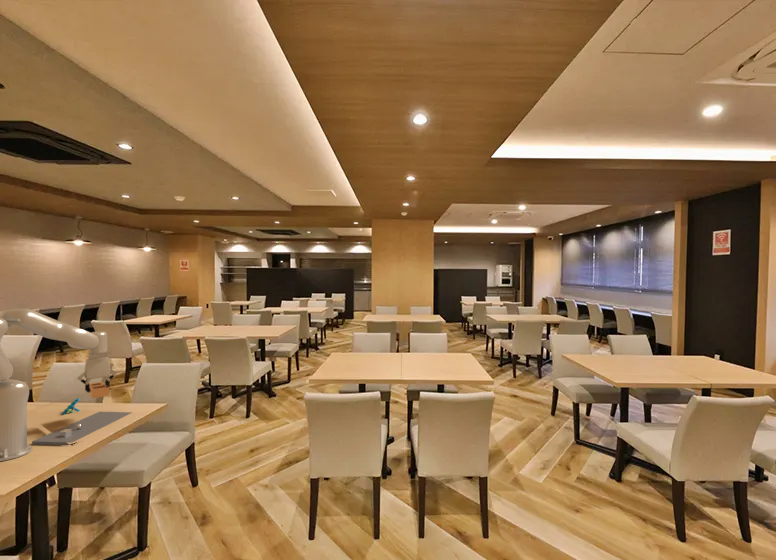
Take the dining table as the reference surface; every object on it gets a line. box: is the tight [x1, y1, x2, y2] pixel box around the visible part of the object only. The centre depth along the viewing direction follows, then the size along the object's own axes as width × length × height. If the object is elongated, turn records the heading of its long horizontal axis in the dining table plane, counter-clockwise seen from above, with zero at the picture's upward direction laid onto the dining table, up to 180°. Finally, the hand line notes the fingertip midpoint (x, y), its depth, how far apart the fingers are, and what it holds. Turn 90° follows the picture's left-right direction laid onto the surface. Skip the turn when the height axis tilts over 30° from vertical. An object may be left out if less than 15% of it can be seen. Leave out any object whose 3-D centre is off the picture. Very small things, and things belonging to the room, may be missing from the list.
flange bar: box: [85, 381, 110, 399], centre depth 188 cm, size 16×7×4 cm, turn 47°
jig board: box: [31, 411, 134, 446], centre depth 182 cm, size 36×19×4 cm, turn 177°
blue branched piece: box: [61, 397, 81, 416], centre depth 203 cm, size 11×6×10 cm
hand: (97, 389), depth 188 cm, fingers closed on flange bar, 7 cm apart
